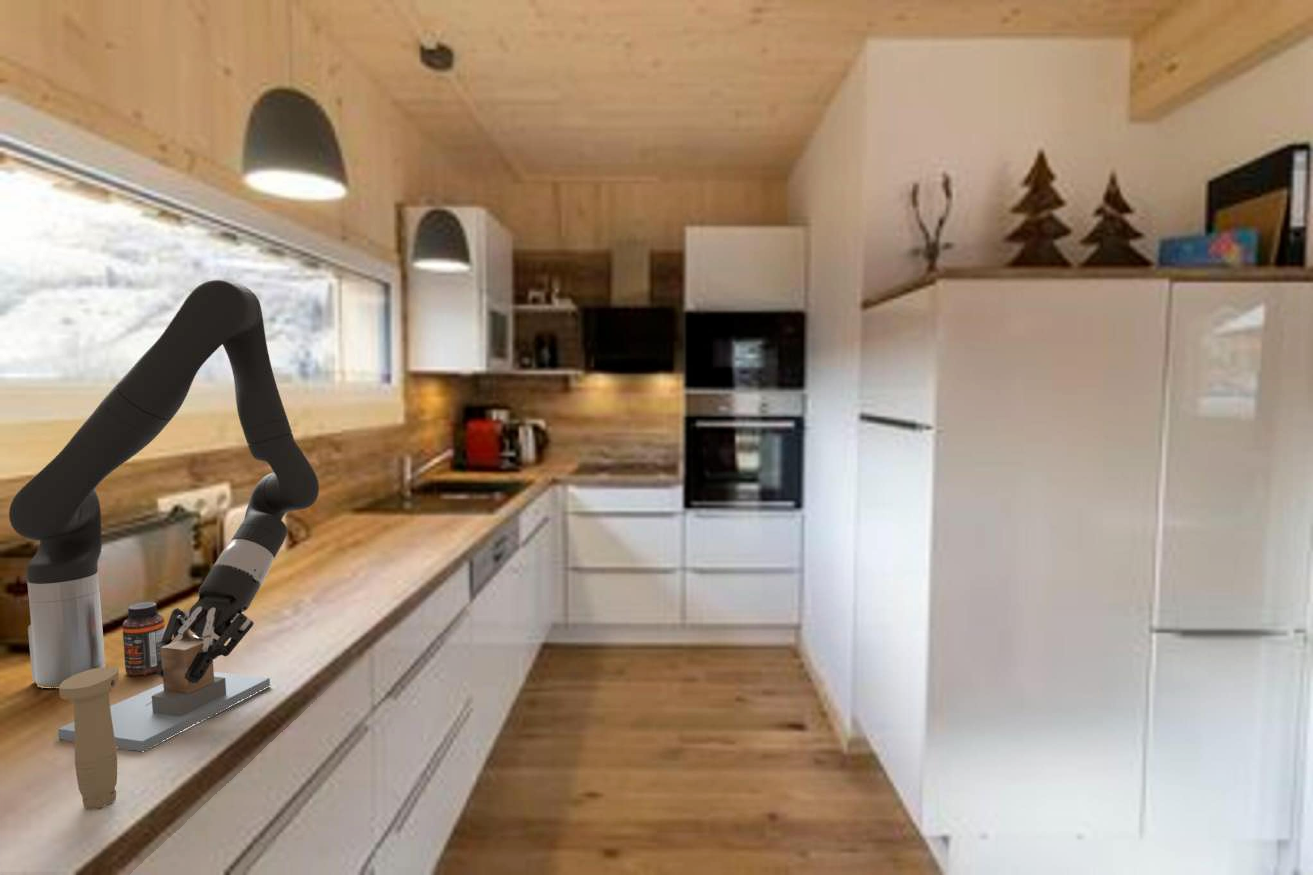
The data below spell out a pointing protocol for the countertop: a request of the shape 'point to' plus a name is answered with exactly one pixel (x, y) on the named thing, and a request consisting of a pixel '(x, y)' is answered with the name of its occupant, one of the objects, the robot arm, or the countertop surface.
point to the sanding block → (185, 680)
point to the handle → (93, 734)
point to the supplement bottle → (143, 639)
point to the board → (147, 728)
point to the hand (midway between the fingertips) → (176, 678)
